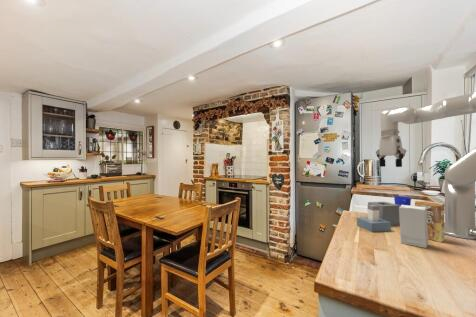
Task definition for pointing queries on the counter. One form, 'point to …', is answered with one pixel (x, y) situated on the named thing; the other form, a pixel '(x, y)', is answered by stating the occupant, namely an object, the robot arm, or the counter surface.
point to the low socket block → (373, 224)
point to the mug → (402, 200)
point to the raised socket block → (388, 212)
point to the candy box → (434, 219)
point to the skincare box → (413, 225)
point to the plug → (373, 212)
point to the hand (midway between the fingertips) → (390, 166)
